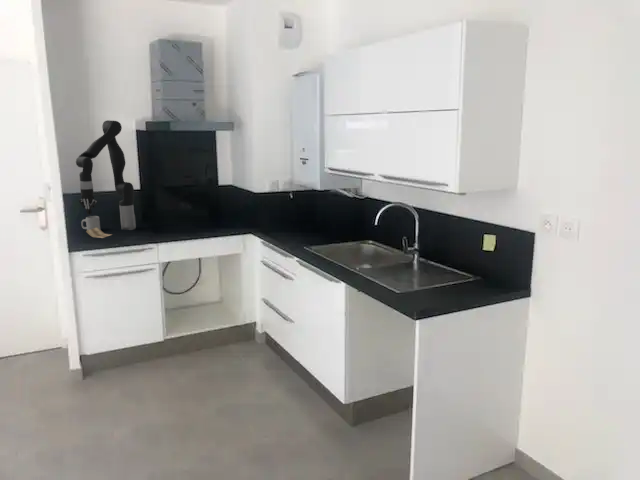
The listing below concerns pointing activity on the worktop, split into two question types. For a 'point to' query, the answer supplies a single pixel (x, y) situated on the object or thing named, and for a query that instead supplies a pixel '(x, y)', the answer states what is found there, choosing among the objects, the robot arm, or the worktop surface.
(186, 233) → the worktop surface
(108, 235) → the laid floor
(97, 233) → the plank
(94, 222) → the mug
